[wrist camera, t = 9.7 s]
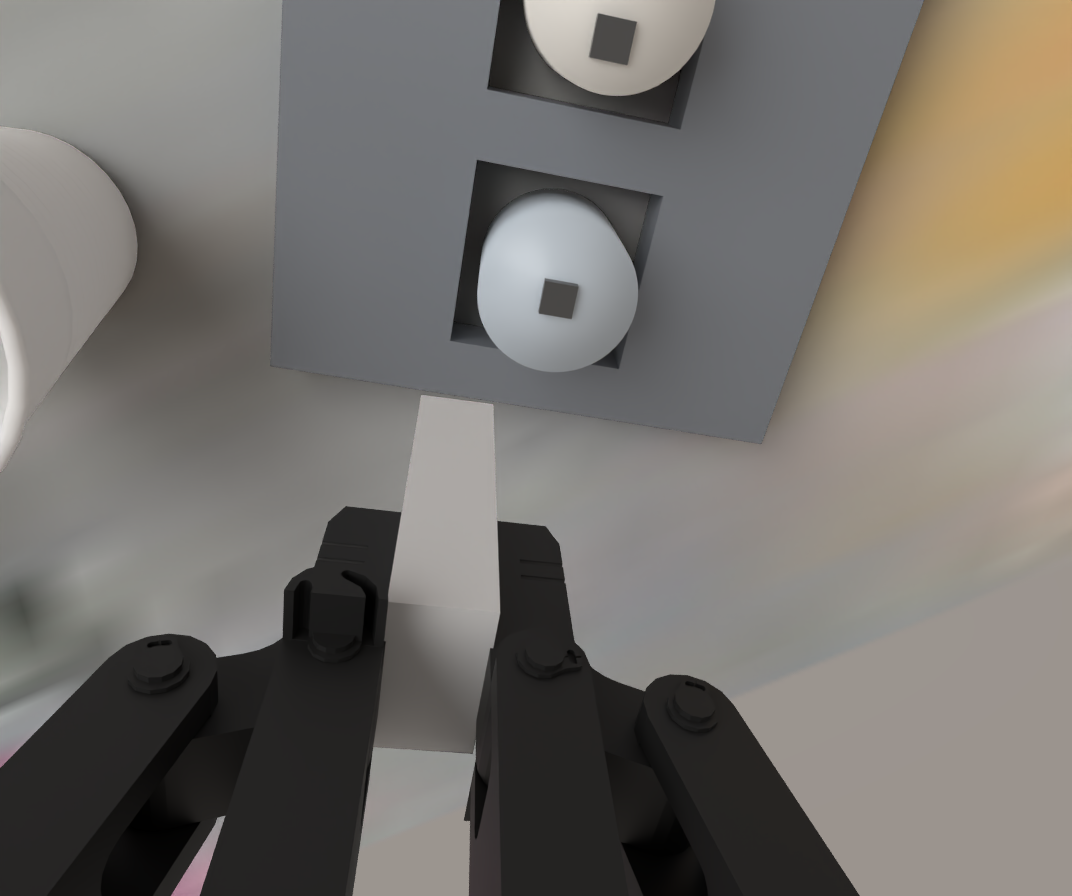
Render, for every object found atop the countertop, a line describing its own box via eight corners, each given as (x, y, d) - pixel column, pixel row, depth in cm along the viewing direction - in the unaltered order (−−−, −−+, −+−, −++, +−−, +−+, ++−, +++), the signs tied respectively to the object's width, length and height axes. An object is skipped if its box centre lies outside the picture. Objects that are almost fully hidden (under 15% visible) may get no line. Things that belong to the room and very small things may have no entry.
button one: (471, 313, 28) (465, 362, 23) (493, 175, 25) (491, 202, 21) (601, 336, 28) (618, 387, 24) (633, 202, 26) (658, 233, 22)
